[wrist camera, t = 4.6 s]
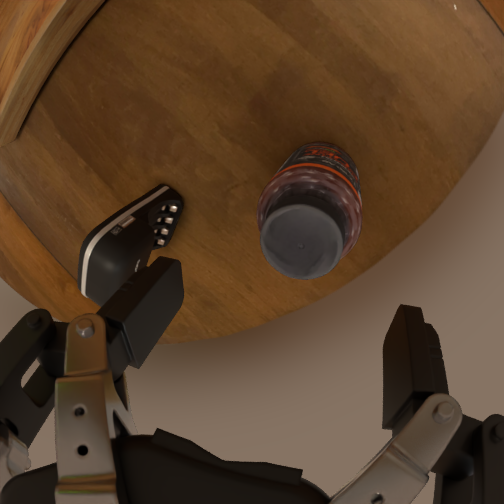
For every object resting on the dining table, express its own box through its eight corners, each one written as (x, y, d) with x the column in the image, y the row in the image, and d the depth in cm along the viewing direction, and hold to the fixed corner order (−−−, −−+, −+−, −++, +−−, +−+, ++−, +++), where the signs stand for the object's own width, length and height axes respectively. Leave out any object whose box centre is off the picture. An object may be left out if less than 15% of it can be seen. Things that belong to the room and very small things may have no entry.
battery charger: (173, 252, 32) (109, 324, 22) (144, 233, 32) (74, 298, 22) (195, 199, 28) (120, 266, 18) (162, 179, 28) (78, 236, 18)
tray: (108, -102, 11) (75, -114, 6) (167, -54, 15) (130, -73, 10) (-13, 72, 26) (-42, 80, 21) (18, 139, 30) (-14, 153, 26)
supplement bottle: (368, 153, 21) (386, 209, 12) (346, 220, 25) (341, 311, 15) (292, 131, 22) (251, 168, 13) (277, 199, 25) (232, 277, 16)
